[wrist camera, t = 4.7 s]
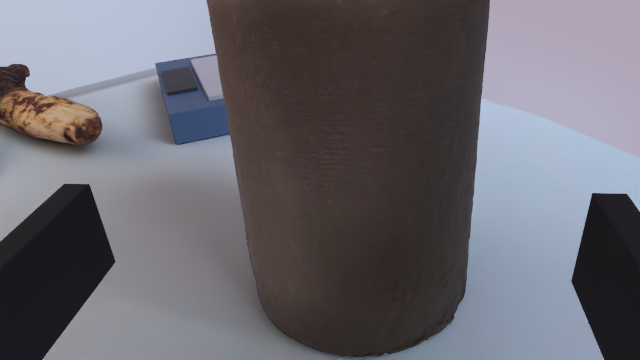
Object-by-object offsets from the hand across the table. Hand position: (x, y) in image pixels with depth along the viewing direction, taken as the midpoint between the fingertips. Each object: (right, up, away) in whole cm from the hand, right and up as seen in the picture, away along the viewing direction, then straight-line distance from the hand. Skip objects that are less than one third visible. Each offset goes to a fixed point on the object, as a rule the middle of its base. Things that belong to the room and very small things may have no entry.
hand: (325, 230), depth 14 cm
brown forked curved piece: (-24, +4, +27) cm, 37 cm away
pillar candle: (+2, -3, +10) cm, 11 cm away
